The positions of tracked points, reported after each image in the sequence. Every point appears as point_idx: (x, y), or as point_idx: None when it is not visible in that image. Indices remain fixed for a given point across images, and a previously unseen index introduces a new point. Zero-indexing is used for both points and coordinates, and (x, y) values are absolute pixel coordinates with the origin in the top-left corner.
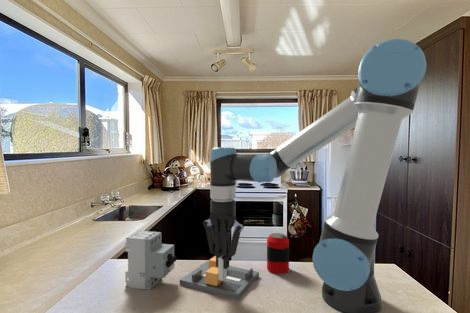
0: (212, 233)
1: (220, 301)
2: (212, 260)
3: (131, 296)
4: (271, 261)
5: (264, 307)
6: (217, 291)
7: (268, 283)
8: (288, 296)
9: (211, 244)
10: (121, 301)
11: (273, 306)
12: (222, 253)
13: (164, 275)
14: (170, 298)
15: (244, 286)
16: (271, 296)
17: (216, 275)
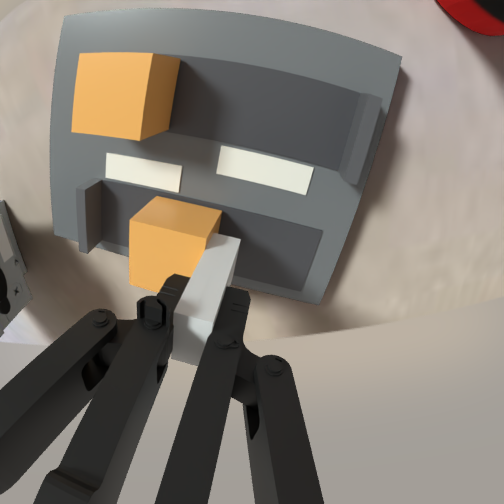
0: (23, 438)
1: (254, 307)
2: (91, 128)
3: (26, 305)
4: (481, 7)
5: (411, 314)
6: None
7: (445, 133)
8: (499, 235)
9: (82, 402)
10: (29, 323)
11: (439, 303)
12: (169, 320)
13: (26, 295)
14: (98, 307)
15: (341, 239)
16: (446, 245)
17: None
